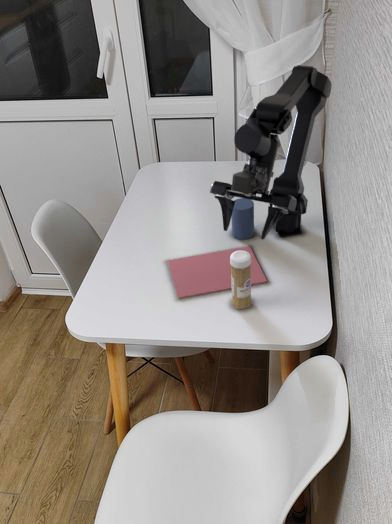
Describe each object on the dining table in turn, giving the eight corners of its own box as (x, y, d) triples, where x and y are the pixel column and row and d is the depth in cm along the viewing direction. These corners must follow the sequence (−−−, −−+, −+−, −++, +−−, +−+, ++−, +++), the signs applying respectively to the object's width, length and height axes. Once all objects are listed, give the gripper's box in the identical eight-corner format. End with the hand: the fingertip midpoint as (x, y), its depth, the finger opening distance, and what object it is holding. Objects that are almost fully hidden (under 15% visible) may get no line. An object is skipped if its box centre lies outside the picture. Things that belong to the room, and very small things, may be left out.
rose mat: (249, 247, 141) (249, 245, 141) (267, 282, 130) (267, 281, 130) (168, 261, 139) (167, 260, 139) (178, 298, 128) (178, 297, 128)
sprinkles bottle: (246, 311, 123) (245, 263, 113) (228, 306, 125) (226, 258, 115) (254, 300, 125) (254, 252, 116) (237, 295, 127) (235, 247, 118)
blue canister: (250, 226, 149) (250, 196, 143) (256, 237, 145) (256, 207, 138) (229, 229, 148) (228, 200, 142) (235, 241, 144) (234, 211, 138)
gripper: (207, 148, 113) (191, 222, 116) (290, 162, 105) (271, 240, 109) (227, 160, 123) (212, 228, 126) (305, 173, 115) (286, 245, 119)
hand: (243, 235), depth 120 cm, fingers open, 9 cm apart
